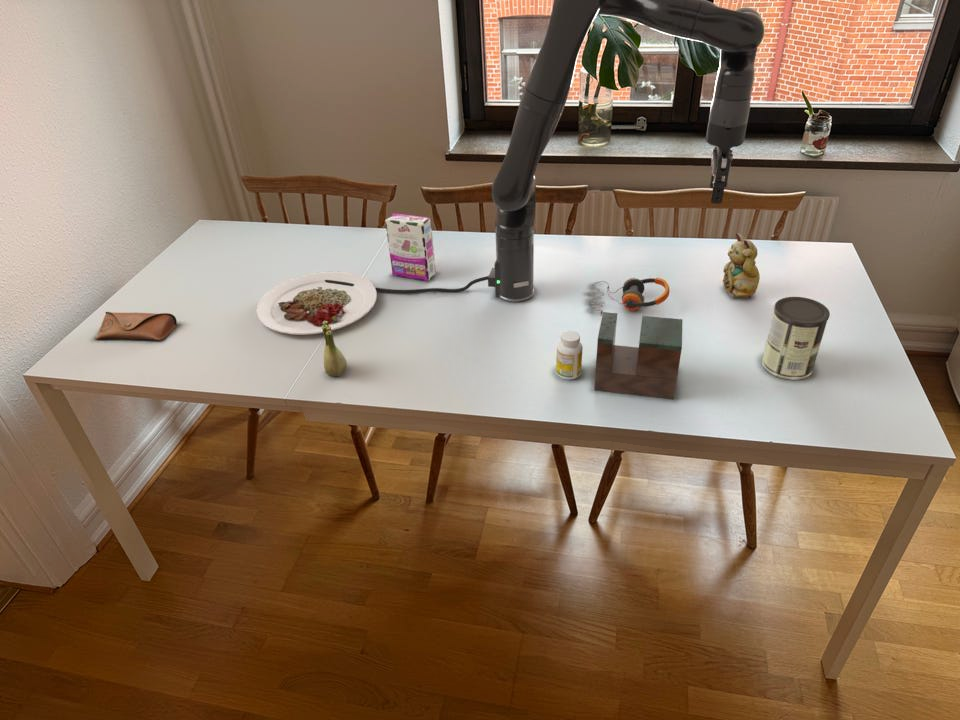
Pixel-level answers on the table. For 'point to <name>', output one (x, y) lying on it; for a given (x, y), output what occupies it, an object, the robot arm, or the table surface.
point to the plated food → (316, 303)
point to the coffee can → (794, 337)
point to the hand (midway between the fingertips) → (715, 195)
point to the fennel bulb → (332, 354)
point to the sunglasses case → (136, 326)
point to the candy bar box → (411, 246)
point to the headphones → (634, 294)
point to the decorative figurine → (741, 269)
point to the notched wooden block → (639, 358)
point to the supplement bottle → (569, 355)
